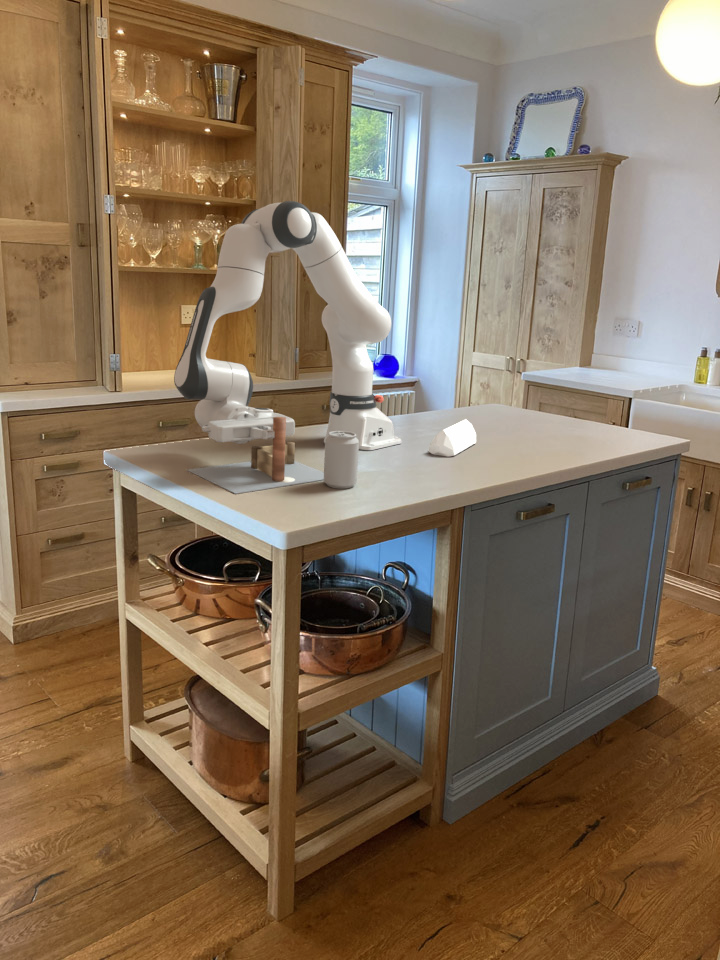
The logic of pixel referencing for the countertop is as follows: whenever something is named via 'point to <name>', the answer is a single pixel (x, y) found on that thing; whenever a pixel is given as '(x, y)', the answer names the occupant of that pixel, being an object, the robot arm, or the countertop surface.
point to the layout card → (255, 476)
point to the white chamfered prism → (453, 439)
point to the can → (341, 459)
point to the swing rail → (274, 452)
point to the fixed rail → (288, 451)
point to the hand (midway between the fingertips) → (270, 435)
